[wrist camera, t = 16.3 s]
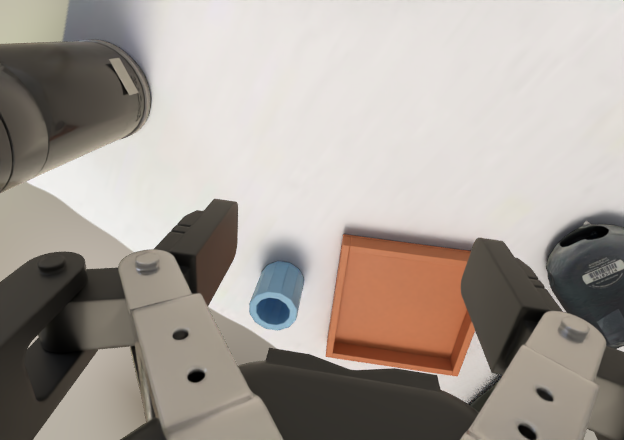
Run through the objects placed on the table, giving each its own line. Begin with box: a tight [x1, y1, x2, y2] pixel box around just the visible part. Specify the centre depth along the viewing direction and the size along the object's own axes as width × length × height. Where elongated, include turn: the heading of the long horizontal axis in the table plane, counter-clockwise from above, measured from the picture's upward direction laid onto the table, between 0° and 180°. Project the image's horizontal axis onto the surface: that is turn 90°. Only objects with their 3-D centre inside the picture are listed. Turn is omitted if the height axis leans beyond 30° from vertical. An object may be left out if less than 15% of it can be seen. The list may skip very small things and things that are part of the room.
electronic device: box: [546, 221, 624, 349], centre depth 40 cm, size 9×6×15 cm
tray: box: [326, 234, 475, 376], centre depth 45 cm, size 17×17×2 cm
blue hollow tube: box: [249, 261, 304, 330], centre depth 44 cm, size 5×5×6 cm
